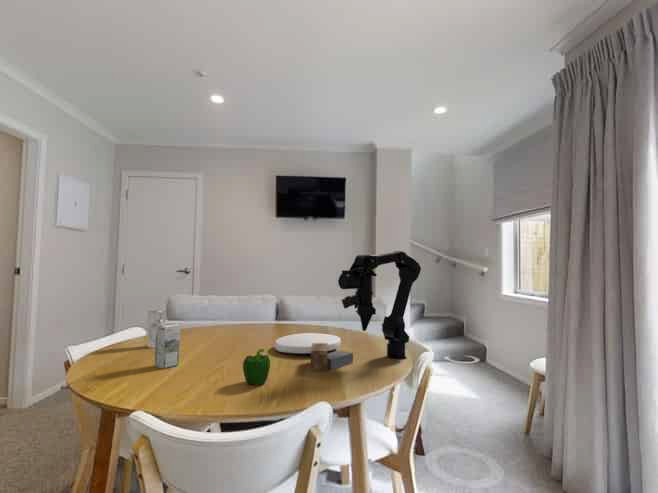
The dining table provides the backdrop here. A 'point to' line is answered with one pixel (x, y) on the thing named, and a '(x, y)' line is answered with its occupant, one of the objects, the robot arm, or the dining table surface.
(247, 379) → the bell pepper
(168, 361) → the syrup box
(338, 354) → the slate slab
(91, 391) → the dining table surface
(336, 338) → the plate
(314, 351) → the walnut shelf
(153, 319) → the beer glass
